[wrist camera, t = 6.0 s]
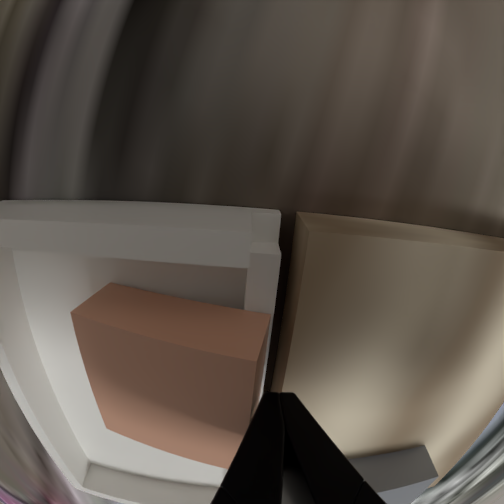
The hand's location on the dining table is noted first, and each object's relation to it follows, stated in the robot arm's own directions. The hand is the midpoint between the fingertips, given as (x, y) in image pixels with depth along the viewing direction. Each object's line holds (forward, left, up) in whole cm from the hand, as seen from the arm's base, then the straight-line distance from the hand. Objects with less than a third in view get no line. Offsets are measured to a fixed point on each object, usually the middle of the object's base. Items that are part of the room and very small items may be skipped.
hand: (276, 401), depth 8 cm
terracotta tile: (+3, 0, -2) cm, 3 cm away
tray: (+5, +4, -3) cm, 7 cm away
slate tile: (-5, +8, -1) cm, 9 cm away
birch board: (-6, +4, -3) cm, 8 cm away
